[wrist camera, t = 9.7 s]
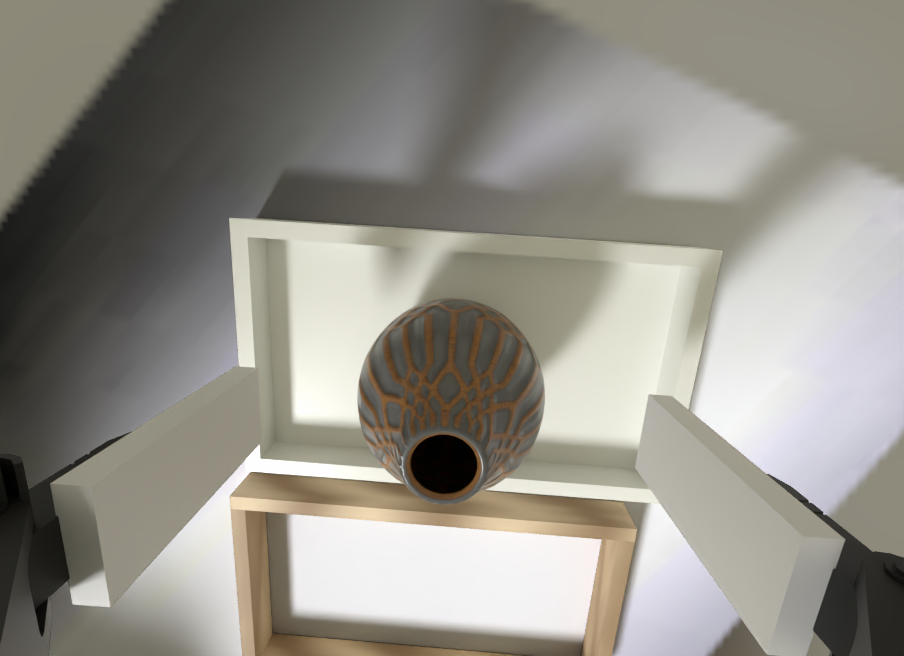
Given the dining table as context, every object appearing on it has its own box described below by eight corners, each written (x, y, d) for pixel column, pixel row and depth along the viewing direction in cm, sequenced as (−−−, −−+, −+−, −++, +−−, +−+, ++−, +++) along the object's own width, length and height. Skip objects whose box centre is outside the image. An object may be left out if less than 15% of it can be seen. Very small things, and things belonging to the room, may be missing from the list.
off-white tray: (267, 446, 22) (245, 470, 20) (256, 218, 19) (229, 218, 17) (647, 475, 21) (667, 504, 19) (694, 246, 19) (723, 250, 16)
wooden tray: (261, 641, 25) (243, 677, 23) (250, 472, 22) (229, 496, 20) (590, 670, 25) (600, 709, 23) (622, 501, 22) (637, 529, 20)
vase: (534, 288, 19) (589, 346, 10) (524, 430, 20) (564, 581, 12) (378, 284, 19) (305, 337, 10) (382, 425, 21) (321, 569, 12)
